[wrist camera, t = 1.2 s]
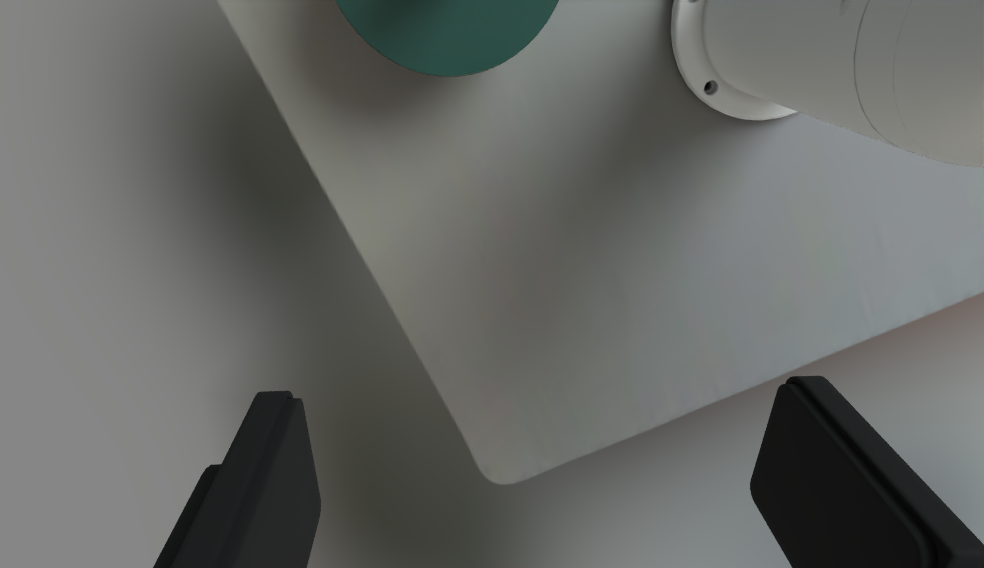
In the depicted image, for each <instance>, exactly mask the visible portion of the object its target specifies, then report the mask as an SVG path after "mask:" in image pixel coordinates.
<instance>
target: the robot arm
mask: <svg viewBox="0 0 984 568" xmlns="http://www.w3.org/2000/svg"><path fill="white" fill-rule="evenodd" d="M671 39H672V48H673V53H674V56H675V60H676V63H677V66H678V69H679V71H680V73H681V75H682V77H683V78H684V80H685V82H686V84H687V86H688V87H689V88H690V89H691V90H692V91H693V92H694V93H695V95H696V96H697V97H698V98H699V99H700V100H702V101H703V102H704V103H706V104H707V105H709V106H710V107H712V108H713V109H715V110H717V111H720V112H722V113H724V114H726V115H729V116H733V117H736V118H740V119H744V120H768V119H776V118H781V117H784V116H788V115H791V114H794V113H797V112H800V113H803V114H806V115H809V116H811V117H814V118H817V119H820V120H823V121H825V122H828V123H831V124H834V125H837V126H839V127H842V128H845V129H848V130H851V131H853V132H856V133H859V134H862V135H865V136H867V137H870V138H873V139H876V140H879V141H881V142H884V143H887V144H890V145H893V146H895V147H898V148H901V149H904V150H906V151H909V152H912V153H916V154H919V155H922V156H924V157H927V158H931V159H934V160H937V161H941V162H945V163H949V164H956V165H962V166H971V167H984V0H674V2H673V7H672V17H671ZM707 82H709V87H708V88H707V89H706V90H704V86H705V85H706V83H707ZM750 490H751V495H752V498H753V500H754V502H755V504H756V506H757V508H758V509H759V511H760V513H761V514H762V516H763V518H764V520H765V521H766V523H767V525H768V526H769V528H770V530H771V532H772V533H773V535H774V537H775V539H776V540H777V542H778V544H779V545H780V547H781V549H782V551H783V552H784V554H785V555H786V557H787V559H788V561H789V562H790V564H791V566H792V568H984V545H983V543H982V542H981V541H980V540H979V539H978V538H977V537H976V536H975V535H974V534H973V533H972V532H971V531H970V530H969V529H968V528H967V527H966V526H965V524H964V523H963V522H962V521H961V520H960V519H959V518H958V517H957V516H956V515H955V514H954V513H953V512H952V511H951V510H950V509H949V508H948V507H947V506H946V504H945V503H944V502H943V501H942V500H941V499H940V498H939V497H938V496H937V495H936V494H935V493H934V492H933V491H932V490H931V489H930V488H929V486H927V484H926V483H925V482H924V481H923V480H922V479H921V478H920V477H919V476H918V475H917V474H916V473H915V472H914V471H913V470H912V469H911V468H910V467H909V465H907V463H906V462H905V461H904V460H903V459H902V458H901V457H900V456H899V455H898V454H897V453H896V452H895V451H894V450H893V449H892V447H890V446H889V444H888V443H887V442H886V441H885V440H884V439H883V438H882V437H881V436H880V435H879V434H878V433H877V432H876V431H875V430H874V429H873V427H871V425H870V424H869V423H868V422H867V421H866V420H865V419H864V418H863V417H862V416H861V415H860V414H859V413H858V412H857V411H856V410H855V408H854V407H853V406H852V405H851V404H850V403H849V402H848V401H847V400H846V399H845V398H844V397H843V396H842V395H841V394H840V393H839V392H838V391H837V390H836V389H835V387H833V385H832V384H831V383H830V382H829V381H828V380H827V379H825V378H824V377H822V376H794V377H790V378H789V379H788V380H787V381H786V383H785V384H783V385H781V386H780V387H779V388H778V391H777V394H776V397H775V400H774V404H773V408H772V411H771V414H770V418H769V421H768V424H767V428H766V431H765V434H764V438H763V441H762V444H761V448H760V451H759V454H758V458H757V461H756V464H755V468H754V471H753V475H752V478H751V482H750ZM320 511H321V499H320V493H319V488H318V482H317V476H316V472H315V466H314V460H313V455H312V450H311V444H310V439H309V433H308V428H307V422H306V417H305V411H304V406H303V402H302V400H301V399H300V398H293V395H292V393H291V392H290V391H273V392H272V391H269V392H259V393H257V395H256V396H255V398H254V400H253V402H252V404H251V406H250V408H249V410H248V412H247V414H246V416H245V418H244V420H243V422H242V424H241V426H240V428H239V430H238V432H237V434H236V436H235V438H234V440H233V442H232V444H231V447H230V448H229V450H228V452H227V455H226V456H225V458H224V460H223V463H222V464H220V465H210V466H209V467H207V468H206V469H205V471H204V472H203V474H202V475H201V477H200V479H199V481H198V483H197V485H196V487H195V489H194V491H193V492H192V495H191V497H190V498H189V500H188V502H187V504H186V506H185V508H184V510H183V512H182V513H181V515H180V517H179V519H178V521H177V523H176V525H175V527H174V529H173V531H172V532H171V534H170V536H169V538H168V540H167V542H166V544H165V546H164V548H163V550H162V552H161V553H160V555H159V557H158V559H157V561H156V563H155V565H154V567H153V568H307V564H308V560H309V556H310V552H311V548H312V544H313V541H314V537H315V533H316V529H317V525H318V522H319V517H320Z"/></svg>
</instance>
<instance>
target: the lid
mask: <svg viewBox="0 0 984 568" xmlns="http://www.w3.org/2000/svg"><path fill="white" fill-rule="evenodd" d="M335 1H336V3H337V5H338V7H339V8H340V10H341V11H342V13H343V15H344V16H345V18H346V19H347V21H348V22H349V23H350V24H351V26H352V27H353V28H354V29H355V31H356V32H357V33H358V34H359V35H360V36H361V37H362V38H363V39H364V40H365V41H366V42H367V43H368V44H369V45H370V46H371V47H373V48H374V49H375V50H377V51H378V52H379V53H380V54H382V55H383V56H385V57H386V58H388V59H390V60H391V61H393V62H395V63H396V64H399V65H401V66H403V67H406V68H408V69H410V70H413V71H417V72H420V73H424V74H428V75H435V76H454V77H457V76H464V75H472V74H475V73H479V72H482V71H486V70H488V69H491V68H493V67H495V66H498V65H500V64H502V63H503V62H505V61H507V60H508V59H510V58H512V57H513V56H515V55H516V54H517V53H518V52H520V51H521V50H522V49H523V48H525V47H526V46H527V45H528V44H529V43H530V42H531V41H532V40H533V39H534V38H535V37H536V36H537V35H538V33H539V32H540V31H541V29H542V28H543V27H544V25H545V24H546V23H547V21H548V19H549V18H550V16H551V14H552V12H553V11H554V9H555V7H556V5H557V3H558V1H559V0H335Z"/></svg>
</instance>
